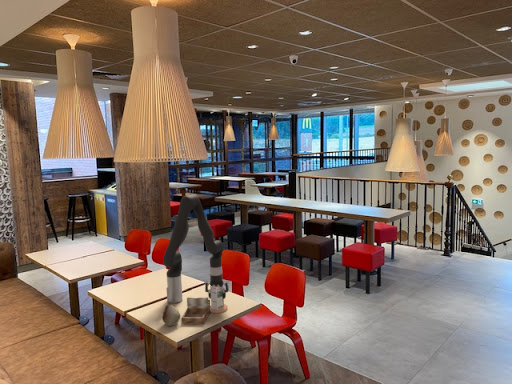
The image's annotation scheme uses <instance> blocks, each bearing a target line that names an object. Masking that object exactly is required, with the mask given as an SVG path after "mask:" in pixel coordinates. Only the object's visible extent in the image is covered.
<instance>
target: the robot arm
mask: <svg viewBox="0 0 512 384" xmlns="http://www.w3.org/2000/svg"><path fill="white" fill-rule="evenodd" d="M192 210H193V212H194V213H195V215H196V219H197V221H196V222H197V227H198V231H199V233H200V234H201V236H202V238H203V241H204V245H205V248H206V250H207V252H208V253H209V254H211V256H210V258H209V277H210V279H209V280H210V281H209V282H208V281H205V283H204V284H205V285H204V287H205V288H204V290H205V291H204V292H205V293H207V295H208V296H207V297H208V299H210V300H211V291H212V287H213V286H218V287H220V290H221V291H222V292H223V299H224V300H225V298H226V295H227V293H229V291H230V290H229V289H230V288H229V281H223V280H224V279H223V267H222V265H223V264H222V257H223V251H224V247H223V246H224V244H223V243H222V241H221V240H218V239H217V240H214V236H215V233H214V230H213V228H212V227H211V225H210V224H209V221H208V219H207V217H206V214H205V211H204V209H203V206H202V203H201V200H200V197H198V195H197V194H194V193H190V194H188V195H185V196H182V198H181V199H180V203H179V207H178V212H177V216H176V219H175V223H174V226H173V229H172V232H171V236H170V239H169V241H168V245H167V247H166V249H165V252H164V254H163V257H162V258H163V259H162V263H163V265H164V266H165V267H167V268H169V269H168V270H167V271H166V284H167V287H166V299H167V303H170V304H177V303H180V302H182V301H183V284H182V270H183V265H182V264H183V258H182V254H181V252H180V251H179V250H178V249H179V248H180V247H181V246H182V244H183V243H184V242H185V240H186V238H187V237H188V236H187V235H188V233H189V229H190V228H189V227H190V226H189V221H188V218H189V215H190V212H191V211H192ZM209 285H210V286H212V287H211V289H210V288H209ZM222 286H223V288H222ZM224 286H225V287H224Z"/></svg>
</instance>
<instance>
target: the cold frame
mask: <svg viewBox="0 0 512 384" xmlns="http://www.w3.org/2000/svg"><path fill="white" fill-rule="evenodd" d="M186 306H187V307H186V310H185V311H184V313H183V315H181V317H180V319H181V324H182V325H185V324H186V325H192V324H193V325H204V324H205V323H206V320H207V318H208V316H209V315H211V314H212V313H211V309H210V306H211V299H210V298H209V296H207V297H201V296H200V297H196V296H194V297H192V296H191V297H190V296H189V297H187V296H186ZM189 315H202V316H200V317H199V316H198V317H197V316H196V317H195V316H191V317H190V316H189Z"/></svg>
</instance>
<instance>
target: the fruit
mask: <svg viewBox="0 0 512 384" xmlns="http://www.w3.org/2000/svg"><path fill="white" fill-rule="evenodd" d="M161 317H162V318H161V319H162V322H163V323H164V325H165V326H168V327H171V326H172V327H173V326H175V325H177V324H178V323H179V322H180V319H181V313H180V311H179V310H177V309H176V308H175V306H174V305H172V303H170V302H168V304H167V305H166V306H165V308H164V311H163V312H162V316H161Z"/></svg>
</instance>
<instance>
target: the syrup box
mask: <svg viewBox="0 0 512 384" xmlns="http://www.w3.org/2000/svg"><path fill="white" fill-rule="evenodd" d="M211 287H212V286H211V285H210V287H209V290H210V289H211ZM223 287H224V285H223V286H222V288H223ZM224 300H225V299H223V292H222V291H221V290H220V287H218V286H213V287H212V291H211V299H210V306H211V308H213V309H216V310H219V309H221V308H223V307H224V304H225V303H224V302H225V301H224Z"/></svg>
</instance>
